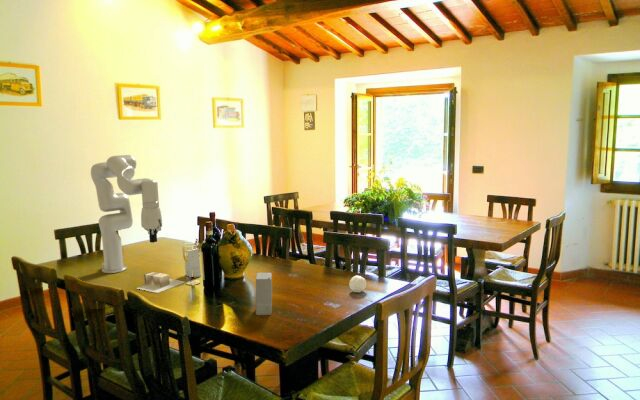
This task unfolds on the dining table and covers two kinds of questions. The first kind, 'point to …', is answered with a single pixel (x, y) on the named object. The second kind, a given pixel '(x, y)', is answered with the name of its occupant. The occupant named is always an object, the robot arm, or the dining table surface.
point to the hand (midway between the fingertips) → (153, 241)
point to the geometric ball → (357, 284)
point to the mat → (160, 289)
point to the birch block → (157, 279)
